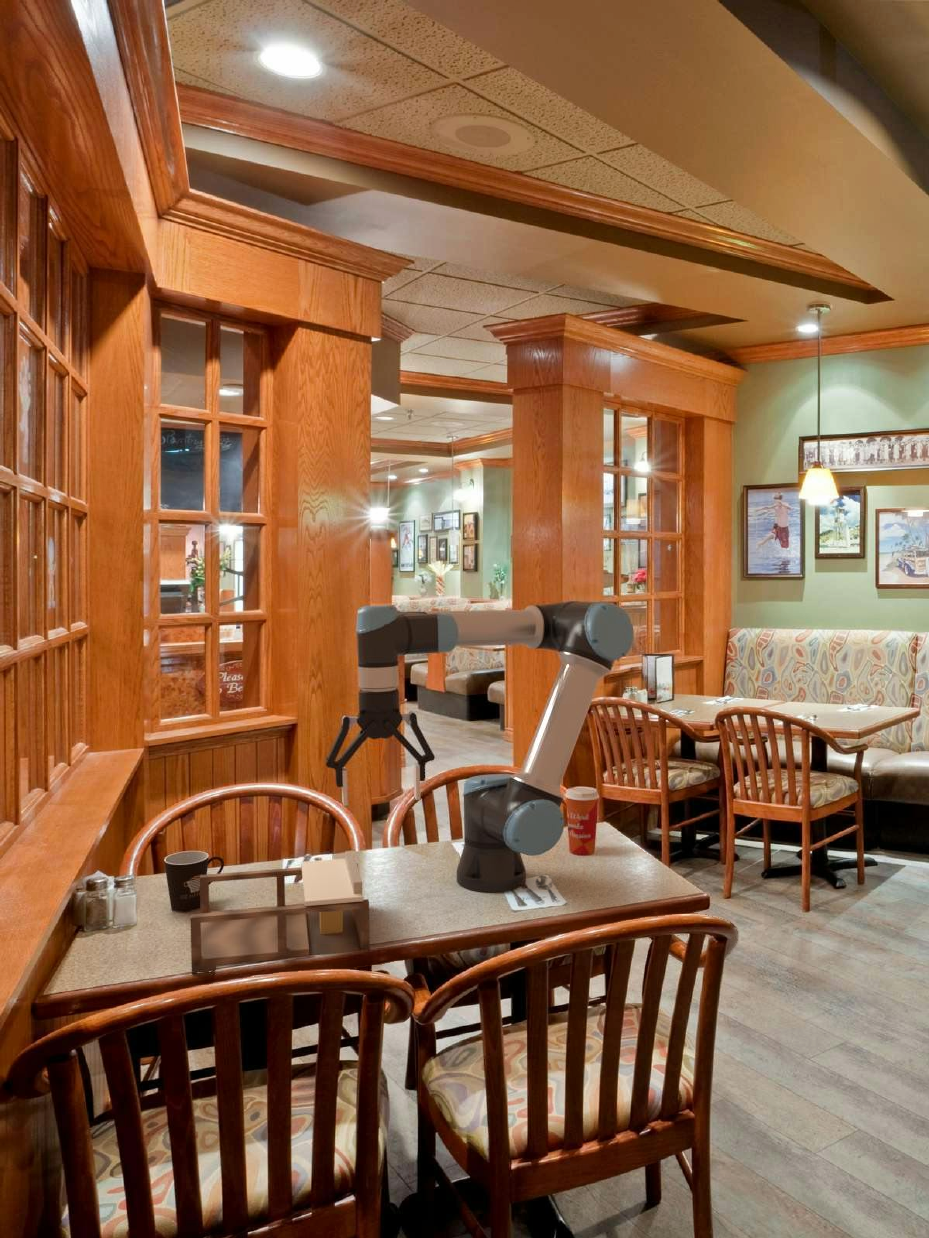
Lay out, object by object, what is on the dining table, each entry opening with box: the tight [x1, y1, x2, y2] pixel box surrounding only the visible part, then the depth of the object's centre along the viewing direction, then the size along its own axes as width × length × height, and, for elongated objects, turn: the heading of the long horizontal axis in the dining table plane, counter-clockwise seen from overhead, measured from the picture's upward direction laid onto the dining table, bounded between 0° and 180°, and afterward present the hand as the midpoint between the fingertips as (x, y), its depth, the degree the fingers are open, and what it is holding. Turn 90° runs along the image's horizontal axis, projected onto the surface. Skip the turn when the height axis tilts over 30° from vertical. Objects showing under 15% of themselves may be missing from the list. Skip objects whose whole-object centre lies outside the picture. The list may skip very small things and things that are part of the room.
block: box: [320, 910, 343, 934], centre depth 164 cm, size 4×4×8 cm
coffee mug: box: [163, 850, 225, 913], centre depth 180 cm, size 12×9×10 cm
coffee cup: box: [564, 786, 600, 857], centre depth 212 cm, size 8×8×15 cm
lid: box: [300, 850, 364, 906], centre depth 164 cm, size 10×22×3 cm, turn 12°
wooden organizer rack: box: [189, 862, 371, 975], centre depth 163 cm, size 30×22×10 cm
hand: (381, 801), depth 166 cm, fingers open, 13 cm apart
